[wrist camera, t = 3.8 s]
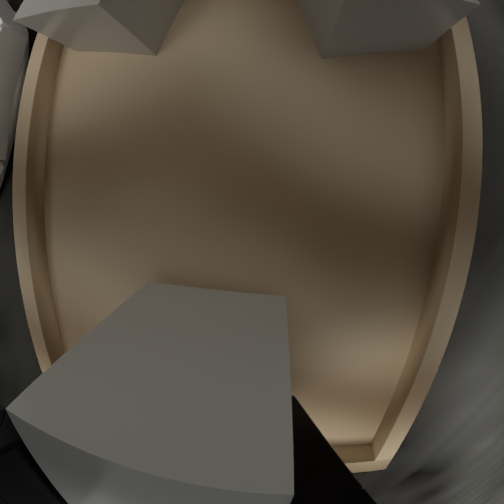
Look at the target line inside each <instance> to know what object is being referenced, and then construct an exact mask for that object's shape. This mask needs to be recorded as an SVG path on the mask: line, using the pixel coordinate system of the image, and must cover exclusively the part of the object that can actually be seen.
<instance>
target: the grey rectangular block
mask: <svg viewBox="0 0 504 504" xmlns="http://www.w3.org/2000/svg"><path fill="white" fill-rule="evenodd" d="M6 411H7V413H8V415H9V417H10V419H11V421H12V422H13V424H14V426H15V428H16V430H17V431H18V433H19V435H20V437H21V438H22V440H23V442H24V443H25V445H26V447H27V448H28V450H29V451H30V453H31V454H32V456H33V457H34V459H35V460H36V462H37V463H38V465H39V466H40V468H41V469H42V471H43V472H44V473H45V475H46V476H47V477H48V479H49V480H50V482H51V483H52V484H53V485H54V487H55V488H56V489H57V491H58V492H59V493H60V494H61V496H62V497H63V498H64V499H65V500H66V502H67V503H68V504H290V503H291V501H292V498H293V496H294V460H293V424H292V398H291V376H290V356H289V339H288V322H287V307H286V296H278V295H267V294H256V293H245V292H235V291H225V290H215V289H206V288H197V287H188V286H180V285H171V284H163V283H155V282H148V283H146V284H145V285H144V286H143V287H141V288H140V289H139V290H138V291H137V292H135V293H134V294H133V295H132V296H131V297H129V298H128V299H127V300H126V301H125V302H123V303H122V304H121V305H120V306H119V307H117V308H116V309H115V310H114V311H113V312H112V313H110V314H109V315H108V316H107V317H106V318H105V319H103V320H102V321H101V322H100V323H99V324H98V325H96V326H95V327H94V328H93V329H92V330H91V331H89V332H88V333H87V334H86V335H85V336H84V337H83V338H81V339H80V340H79V341H78V342H77V343H76V344H75V345H73V346H72V347H71V348H70V349H69V350H68V351H67V352H66V353H64V354H63V355H62V356H61V357H60V358H59V359H58V360H57V361H56V362H55V363H53V364H52V365H51V366H50V367H49V368H48V369H47V370H46V371H45V372H44V373H42V374H41V375H40V376H39V377H38V378H37V379H36V380H35V381H34V382H33V383H32V384H31V385H30V386H29V387H27V388H26V389H25V390H24V391H23V392H22V393H21V394H20V395H19V396H18V397H17V398H16V399H15V400H14V401H13V402H12V403H11V404H10V405H9V406H8V407H7V408H6Z"/></svg>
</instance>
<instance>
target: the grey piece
mask: <svg viewBox="0 0 504 504" xmlns="http://www.w3.org/2000/svg"><path fill="white" fill-rule="evenodd" d="M296 2H297V4H298V6H299V8H300V10H301V12H302V14H303V17H304V19H305V21H306V23H307V25H308V27H309V30H310V32H311V34H312V36H313V39H314V41H315V43H316V46H317V48H318V50H319V53H320V55H321V58H322V59H328V58H335V57H342V56H349V55H358V54H367V53H379V52H394V51H423V50H424V49H426V48H427V47H428V46H429V45H430V44H432V43H433V42H434V41H435V40H437V39H438V38H439V37H440V36H441V35H443V34H444V33H445V32H446V31H448V30H449V29H450V28H451V27H452V26H454V25H455V24H456V23H457V22H459V21H460V20H461V19H462V18H464V17H465V16H466V15H467V14H469V13H470V12H471V11H473V10H474V9H475V8H476V7H478V6H479V5H480V3H479V1H478V0H296Z"/></svg>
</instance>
